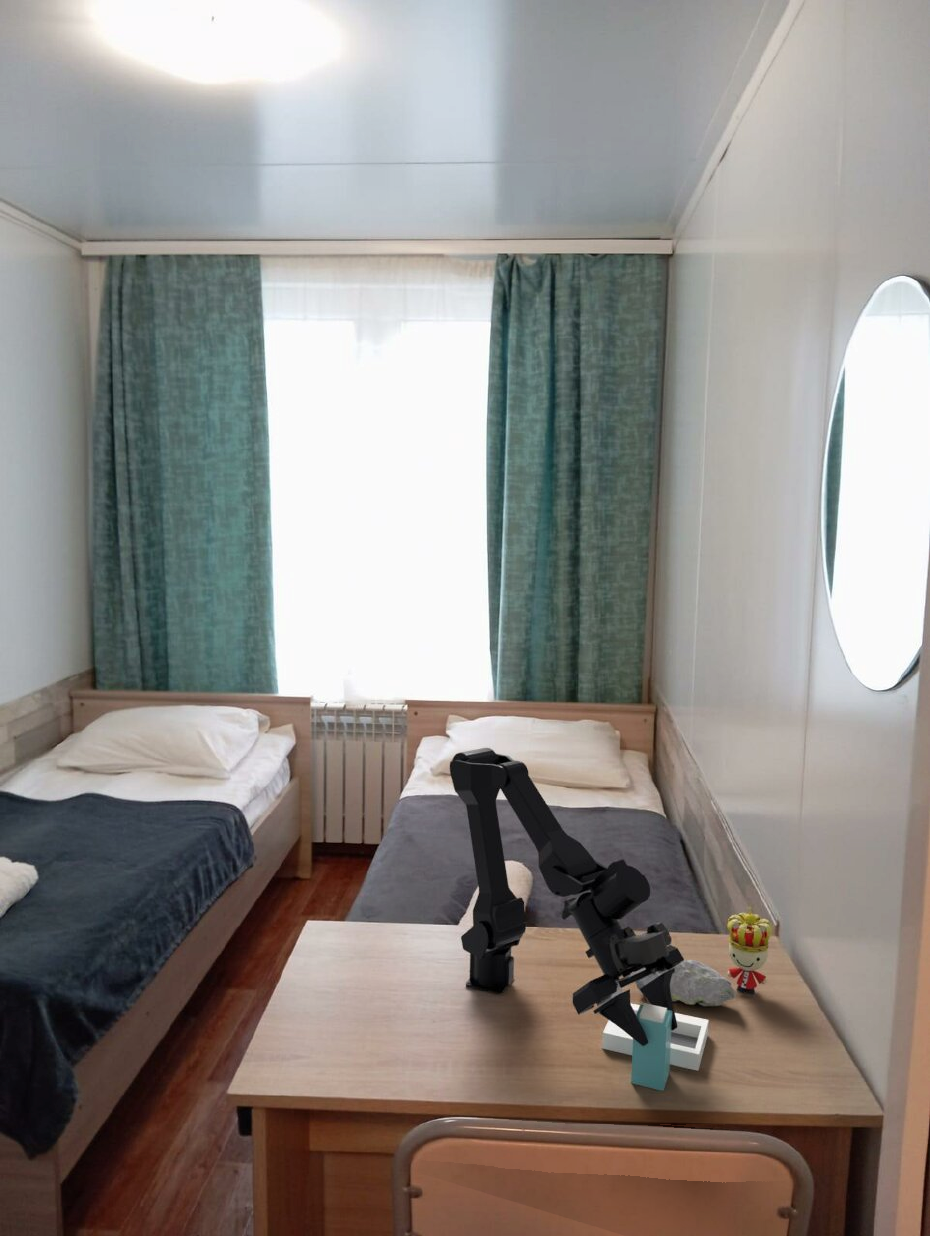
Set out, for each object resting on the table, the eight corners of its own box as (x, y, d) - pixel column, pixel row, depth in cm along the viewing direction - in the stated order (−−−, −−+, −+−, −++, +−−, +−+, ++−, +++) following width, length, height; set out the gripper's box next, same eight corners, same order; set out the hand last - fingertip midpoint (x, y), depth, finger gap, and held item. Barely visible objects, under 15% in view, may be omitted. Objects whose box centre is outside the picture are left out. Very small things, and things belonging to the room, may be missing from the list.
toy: (720, 996, 157) (726, 909, 155) (726, 976, 164) (731, 893, 162) (766, 1005, 154) (771, 917, 153) (769, 985, 161) (775, 900, 159)
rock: (740, 1000, 156) (742, 961, 156) (732, 1020, 150) (734, 980, 149) (646, 978, 163) (648, 940, 162) (635, 997, 157) (637, 958, 156)
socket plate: (602, 1048, 141) (602, 1031, 141) (617, 1015, 150) (617, 999, 150) (698, 1070, 136) (699, 1053, 136) (707, 1035, 145) (708, 1019, 145)
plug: (631, 1083, 133) (634, 1015, 132) (637, 1065, 137) (640, 1000, 136) (663, 1091, 131) (666, 1022, 130) (669, 1073, 135) (672, 1006, 134)
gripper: (590, 926, 128) (652, 1039, 121) (676, 892, 140) (737, 993, 133) (547, 960, 135) (603, 1068, 128) (632, 924, 147) (688, 1022, 140)
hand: (660, 1036), depth 132 cm, fingers closed on plug, 6 cm apart
